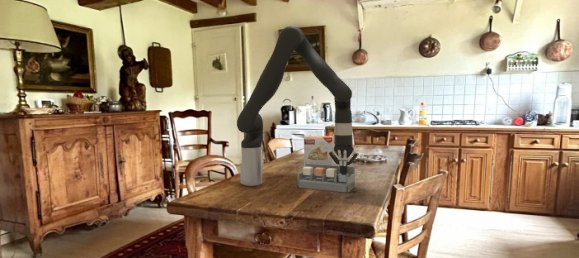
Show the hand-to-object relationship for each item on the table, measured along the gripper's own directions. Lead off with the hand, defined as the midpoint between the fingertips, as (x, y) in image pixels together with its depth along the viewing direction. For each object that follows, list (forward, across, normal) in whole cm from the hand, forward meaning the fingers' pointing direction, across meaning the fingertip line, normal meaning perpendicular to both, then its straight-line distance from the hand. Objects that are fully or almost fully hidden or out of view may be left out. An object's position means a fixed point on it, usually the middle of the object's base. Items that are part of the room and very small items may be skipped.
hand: (343, 174), depth 139 cm
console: (+6, -8, +1) cm, 11 cm away
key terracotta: (+1, -11, 0) cm, 11 cm away
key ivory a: (+1, -17, 0) cm, 17 cm away
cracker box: (+7, -17, +14) cm, 23 cm away
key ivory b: (+1, -6, 0) cm, 6 cm away
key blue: (+3, 0, 0) cm, 3 cm away
